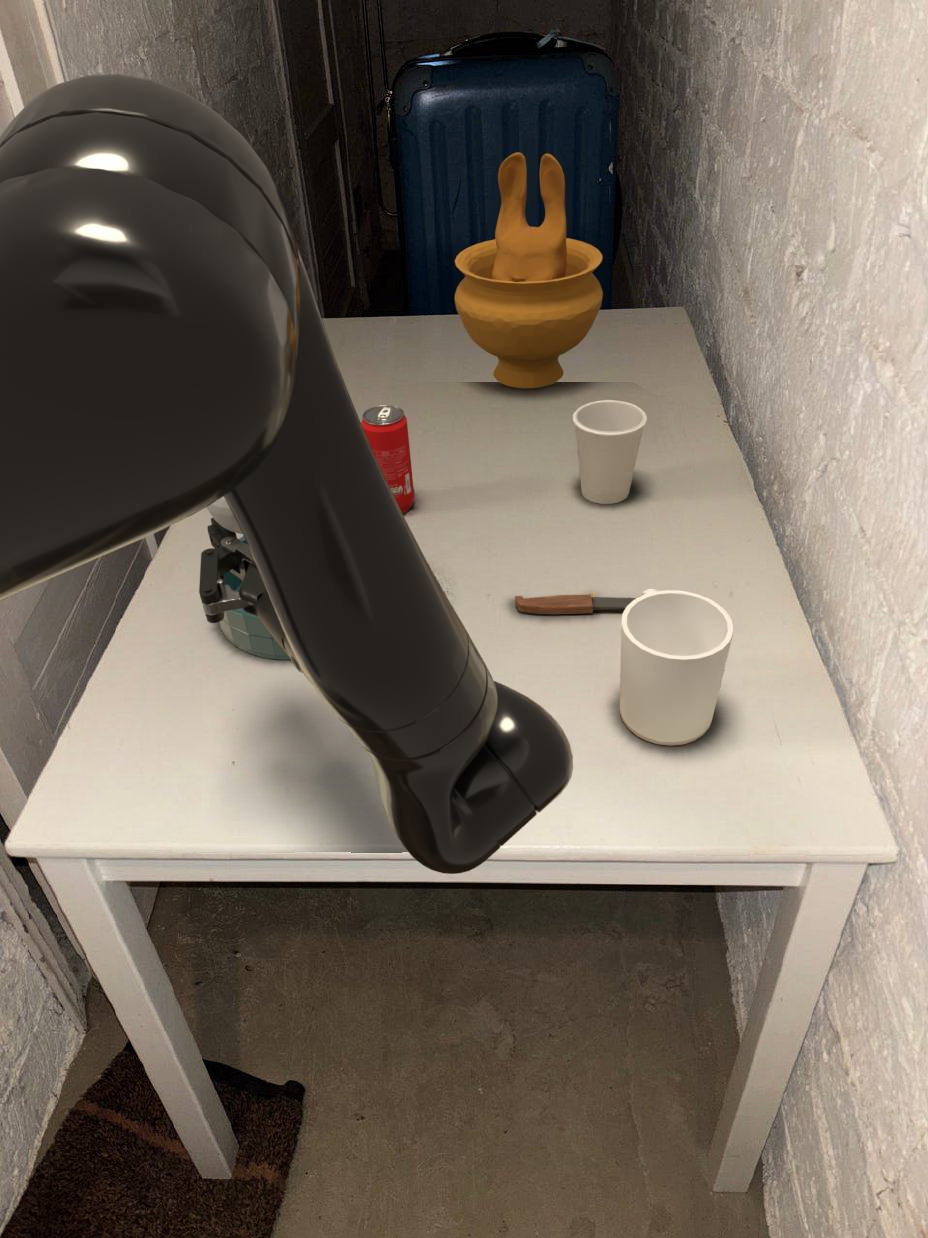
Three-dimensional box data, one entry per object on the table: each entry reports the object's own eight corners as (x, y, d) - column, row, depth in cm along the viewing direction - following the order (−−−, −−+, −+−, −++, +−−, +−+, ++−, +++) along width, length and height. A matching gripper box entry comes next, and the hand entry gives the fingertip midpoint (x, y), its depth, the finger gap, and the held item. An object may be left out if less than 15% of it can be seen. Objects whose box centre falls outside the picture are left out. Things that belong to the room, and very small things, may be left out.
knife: (677, 585, 93) (682, 604, 90) (676, 593, 93) (681, 612, 91) (514, 590, 93) (515, 608, 91) (514, 598, 94) (515, 616, 92)
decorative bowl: (436, 393, 133) (420, 170, 114) (488, 339, 148) (482, 134, 129) (574, 412, 126) (582, 179, 107) (615, 353, 141) (627, 139, 122)
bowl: (239, 681, 86) (228, 641, 83) (204, 581, 99) (194, 543, 96) (412, 628, 91) (408, 589, 88) (357, 540, 104) (352, 502, 101)
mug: (734, 739, 78) (752, 648, 71) (635, 759, 76) (644, 668, 70) (683, 657, 86) (695, 569, 80) (593, 674, 85) (598, 585, 78)
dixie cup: (638, 512, 106) (645, 434, 100) (566, 507, 107) (568, 430, 101) (642, 476, 112) (648, 400, 106) (574, 471, 114) (576, 397, 107)
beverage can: (367, 516, 108) (354, 424, 101) (377, 493, 112) (366, 403, 104) (410, 518, 107) (400, 425, 100) (418, 495, 111) (410, 404, 104)
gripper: (425, 544, 61) (312, 449, 73) (228, 624, 55) (140, 507, 67) (433, 631, 66) (325, 528, 77) (252, 712, 60) (166, 588, 72)
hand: (240, 519), depth 72 cm, fingers closed on lollipop, 3 cm apart
